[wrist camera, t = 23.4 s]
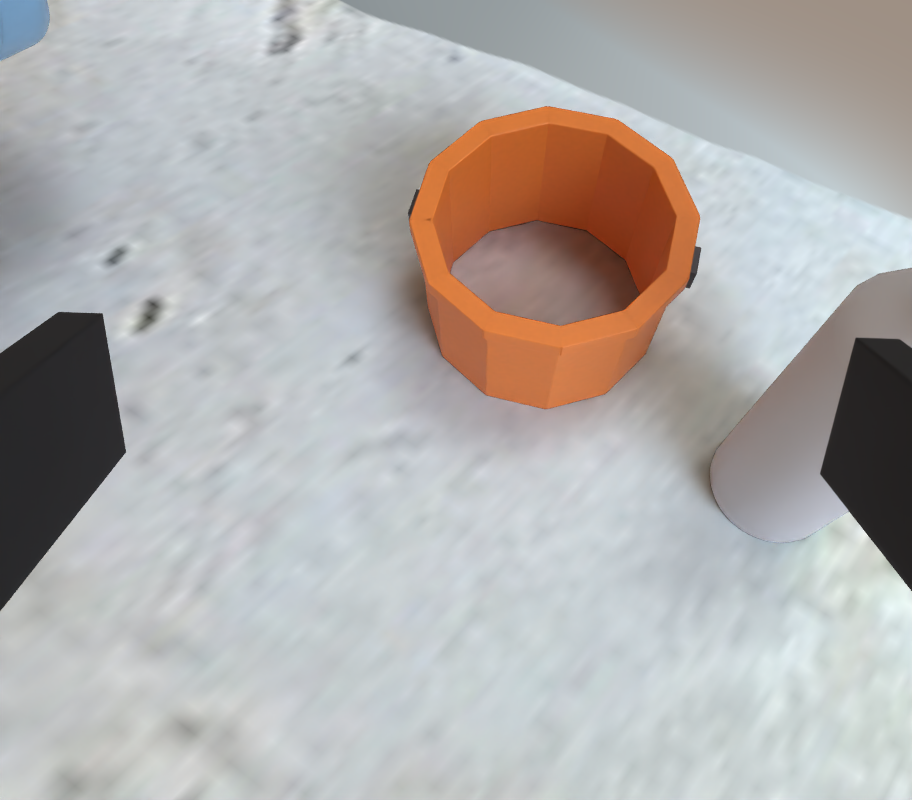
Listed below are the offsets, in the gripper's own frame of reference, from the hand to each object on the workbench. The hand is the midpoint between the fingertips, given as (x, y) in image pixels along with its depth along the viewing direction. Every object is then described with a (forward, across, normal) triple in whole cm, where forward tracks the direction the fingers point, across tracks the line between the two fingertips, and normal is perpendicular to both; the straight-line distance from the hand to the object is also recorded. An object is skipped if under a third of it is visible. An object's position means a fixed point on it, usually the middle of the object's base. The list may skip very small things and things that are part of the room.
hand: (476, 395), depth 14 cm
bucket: (+32, +5, -9) cm, 34 cm away
